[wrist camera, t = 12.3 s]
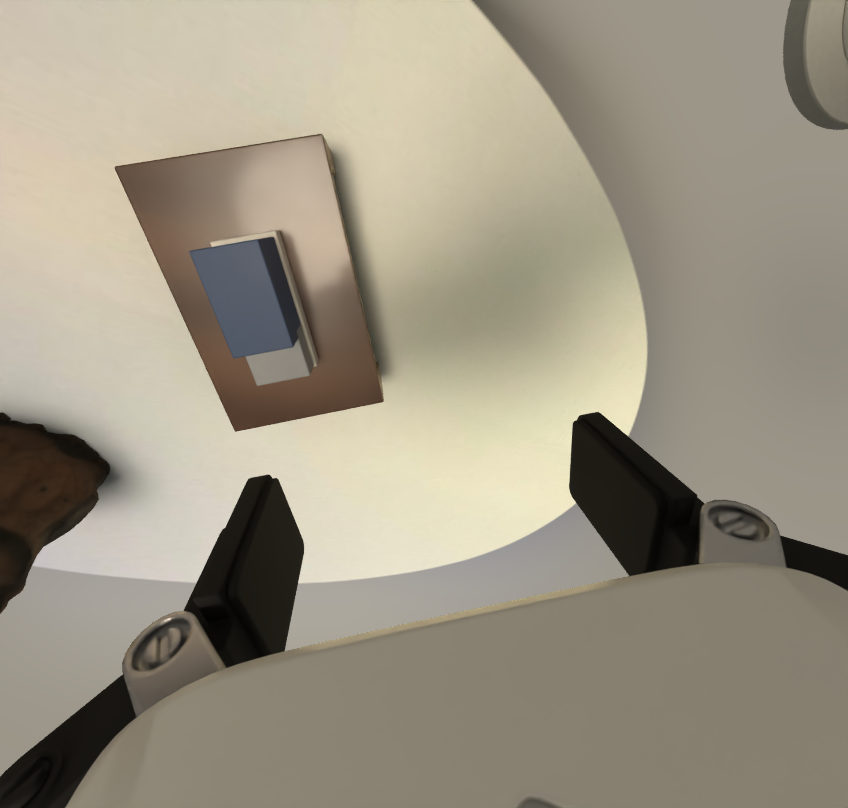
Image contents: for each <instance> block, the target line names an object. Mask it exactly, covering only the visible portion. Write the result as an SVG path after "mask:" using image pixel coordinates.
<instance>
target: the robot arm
mask: <svg viewBox="0 0 848 808" xmlns="http://www.w3.org/2000/svg"><path fill="white" fill-rule="evenodd" d="M843 42H844V48H845V54H846V57H847V59H848V0H847V1H846V5H845V12H844V19H843ZM569 488H570V493H571V495H572V497H573V499H574V500H575V502H576V503H577V504H578V506H579V507H580V509H581V510H582V511H583V513H584V514H585V515H586V517H587V518H588V520H589V521H590V522H591V524H592V525H593V526H594V528H595V529H596V530H597V532H598V533H599V535H600V536H601V537H602V538H603V540H604V542H605V543H606V544H607V546H608V547H609V548H610V550H611V551H612V553H613V554H614V555H615V557H616V558H617V559H618V561H619V562H620V564H621V565H622V566H623V568H624V569H625V570H626V572H627V573H628V575H629V576H628V577H623V578H618V579H613V580H608V581H603V582H599V583H594V584H589V585H584V586H579V587H575V588H570V589H565V590H560V591H556V592H551V593H546V594H541V595H537V596H532V597H527V598H523V599H518V600H513V601H509V602H504V603H500V604H495V605H490V606H485V607H480V608H476V609H471V610H467V611H462V612H457V613H453V614H448V615H443V616H439V617H434V618H430V619H425V620H421V621H416V622H411V623H407V624H402V625H398V626H393V627H389V628H385V629H381V630H376V631H371V632H366V633H362V634H357V635H353V636H348V637H344V638H339V639H335V640H330V641H326V642H322V643H318V644H313V645H309V646H305V647H301V648H297V649H293V650H288V651H285V646H286V640H287V636H288V631H289V626H290V621H291V615H292V610H293V605H294V600H295V595H296V590H297V585H298V580H299V575H300V570H301V565H302V560H303V555H304V543H303V539H302V537H301V534H300V532H299V529H298V527H297V524H296V522H295V519H294V517H293V514H292V512H291V509H290V507H289V505H288V502H287V500H286V497H285V495H284V492H283V490H282V487H281V485H280V482H279V480H278V479H277V478H273V479H272V477H271V476H270V475H264V476H259V477H253V478H250V479H248V481H247V483H246V485H245V487H244V489H243V491H242V493H241V495H240V498H239V500H238V502H237V504H236V506H235V508H234V510H233V513H232V515H231V517H230V519H229V521H228V523H227V525H226V528H224V529H223V530H222V532H221V533H220V535H219V537H218V539H217V541H216V543H215V546H214V548H213V550H212V552H211V554H210V556H209V558H208V560H207V562H206V565H205V567H204V569H203V571H202V573H201V575H200V577H199V579H198V581H197V584H196V586H195V588H194V590H193V592H192V594H191V596H190V598H189V600H188V603H187V605H186V607H185V609H184V611H179V612H173V613H171V614H168V615H166V616H163V617H162V618H160V619H158V620H157V621H155V622H153V623H152V624H151V625H149V626H148V627H147V628H146V629H144V630H143V631H142V632H141V633H140V634H139V636H138V637H137V638H136V639H135V640H134V641H133V642H132V644H131V645H130V647H129V649H128V650H127V652H126V654H125V657H124V659H123V662H122V671H123V675H122V676H120V677H119V678H118V679H117V680H115V681H114V682H113V683H112V684H110V685H109V686H108V687H107V688H106V689H104V690H103V691H102V692H101V693H99V694H98V695H97V696H96V697H94V698H93V699H92V700H91V701H90V702H88V703H87V704H86V705H85V706H83V707H82V708H81V709H80V710H78V711H77V712H76V713H75V714H74V715H72V716H71V717H70V718H69V719H67V720H66V721H65V722H64V723H62V724H61V725H60V726H59V727H57V728H56V729H55V730H54V731H53V732H51V733H50V734H49V735H48V736H46V737H45V738H44V739H43V740H42V741H40V742H39V743H38V744H37V745H35V746H34V747H33V748H32V749H30V750H29V751H28V752H27V753H25V754H24V755H23V756H22V757H21V758H20V759H18V760H17V761H16V762H15V763H14V764H13V765H12V766H11V767H10V768H8V770H6V771H5V772H4V773H3V774H2V776H1V777H0V808H848V555H845V554H841V553H838V552H834V551H831V550H827V549H824V548H820V547H818V546H814V545H811V544H807V543H804V542H800V541H797V540H793V539H790V538H787V537H783V536H780V534H779V530H778V528H777V526H776V524H775V523H774V522H773V521H772V520H771V519H770V518H769V517H768V516H767V515H765V514H764V513H762V512H761V511H759V510H757V509H755V508H753V507H751V506H749V505H746V504H742V503H739V502H736V501H729V500H713V501H710V502H707V503H706V504H704V503H703V502H702V501H701V500H700V499H699V498H697V494H695V493H694V492H693V491H692V490H691V489H689V488H688V487H687V486H686V485H685V484H684V483H682V482H681V481H680V480H678V478H676V477H675V476H674V475H673V474H672V473H670V472H669V471H668V470H667V469H666V468H665V467H663V466H662V465H661V464H660V463H659V462H658V461H656V460H655V459H654V458H653V457H652V456H650V455H649V454H648V453H647V452H646V451H644V450H643V449H642V448H641V447H640V446H639V445H637V444H636V443H635V442H634V441H633V440H631V439H630V438H629V437H628V436H627V435H626V434H624V433H623V432H622V431H621V430H620V429H618V428H617V427H616V426H615V425H614V424H613V423H611V422H610V421H609V420H608V419H607V418H605V417H604V416H603V415H602V414H601V413H599V412H595V413H590V414H584V415H580V416H579V417H578V419H577V421H574V423H573V430H572V448H571V465H570V483H569Z"/></svg>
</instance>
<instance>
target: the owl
mask: <svg viewBox="0 0 848 808" xmlns="http://www.w3.org/2000/svg"><path fill="white" fill-rule="evenodd" d="M10 419H11V418H9V417H8V416H7V415H5V414H4V413H0V613H1V612H2V611H3V610H4V609H5V607H6V606H7V603H8V601H9V600H10V599H12V598H13V597H14V596H16V595H17V594H19V593H20V592H21V591H22V590H23V588H24V586H25V583H26V578H27V576H28V572H29V571H30V569H31V567H32V564H33V562H34V560H35V558H36V556H37V555H38V553H39V552H40V551H41V549H42V548H43V547H44V546H46V545H47V544H49V543H51V542H52V541H54V540H56V539H57V538H59V537H60V536H62V535H64V534H65V533H67V532H69V531H70V530H71V529H72V528H74V527H75V526H76V525H77V524H78V523H79V522H81V521H82V519H83V518H85V517H86V515H87V514H88V513H89V512H90V511H91V510H92V509H93V508H94V506H95V505H96V503H97V501H98V500H99V497H98V493H97V489H98V486H100V485H101V484H102V483H103V482H104V480H105V479H106V477H107V476H108V475H109V472H110V467H109V464H108V463H107V462H106V461H105V460H103V459H102V458H101V457H100V456H99V454H98V453H97V452H95V451H94V450H93V449H92V448H90V447H89V446H88V445H87V444H86V443H85V441H84V440H81V439H79V438H78V437H76V436H74V435H67V434H54V433H49V432H47V431H46V429H45V428H44V426H43V425H40V424H24V423H20V422H17V421H10Z"/></svg>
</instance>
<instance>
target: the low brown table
mask: <svg viewBox="0 0 848 808" xmlns="http://www.w3.org/2000/svg"><path fill="white" fill-rule="evenodd" d="M115 170H116V172H117V174H118V176H119V179H120V181H121V183H122V185H123V187H124V190H125V192H126V194H127V196H128V198H129V200H130V203H131V205H132V207H133V209H134V211H135V214H136V216H137V218H138V220H139V222H140V225H141V227H142V229H143V231H144V233H145V235H146V238H147V240H148V242H149V244H150V246H151V249H152V251H153V253H154V255H155V257H156V260H157V262H158V264H159V266H160V268H161V271H162V273H163V275H164V277H165V279H166V281H167V284H168V286H169V288H170V290H171V292H172V295H173V297H174V299H175V301H176V303H177V306H178V308H179V310H180V312H181V314H182V317H183V319H184V321H185V323H186V325H187V327H188V330H189V332H190V334H191V336H192V338H193V341H194V343H195V345H196V347H197V349H198V352H199V354H200V356H201V358H202V360H203V362H204V365H205V367H206V369H207V371H208V373H209V376H210V378H211V380H212V382H213V384H214V387H215V389H216V391H217V393H218V395H219V398H220V400H221V402H222V404H223V406H224V408H225V411H226V413H227V415H228V417H229V419H230V422H231V424H232V426H233V428H234V430H235V432H236V431H241V430H246V429H251V428H256V427H261V426H266V425H271V424H276V423H281V422H286V421H291V420H296V419H301V418H306V417H311V416H316V415H321V414H326V413H331V412H336V411H341V410H346V409H350V408H355V407H360V406H365V405H370V404H375V403H380V402H383V401H384V399H383V389H382V379H381V373H380V369H379V364H378V361H375V358H374V353H373V349H372V344H371V340H370V336H369V331H368V327H367V323H366V318H365V314H364V309H363V305H362V301H361V296H360V292H359V287H358V283H357V279H356V274H355V270H354V265H353V261H352V257H351V252H350V248H349V243H348V239H347V235H346V230H345V226H344V221H343V217H342V213H341V208H340V204H339V199H338V195H337V191H336V186H335V182H334V177H333V176H335V175H336V172H335V168H334V163H333V159H332V154H331V150H330V148H329V146H328V144H327V142H326V140H325V138H324V136H323V135H322V134H318V135H311V136H305V137H299V138H292V139H286V140H280V141H273V142H267V143H261V144H254V145H248V146H242V147H236V148H229V149H223V150H217V151H210V152H204V153H198V154H191V155H185V156H179V157H172V158H166V159H160V160H153V161H147V162H141V163H134V164H128V165H122V166H116V167H115ZM276 230H279V231H280V234H281V237H282V241H283V244H284V247H285V251H286V254H287V257H288V261H289V264H290V267H291V270H292V274H293V277H294V280H295V284H296V287H297V290H298V294H299V297H300V300H301V303H302V307H303V310H304V313H305V317H306V320H307V323H308V326H309V330H310V333H311V336H312V340H313V343H314V346H315V350H316V353H317V356H318V359H319V361H318V364H317V366H315V367H313V369H312V372H311V374H310V376H306V377H301V378H296V379H291V380H286V381H280V382H275V383H270V384H265V385H260V386H257V385H256V382H255V380H254V377H253V374H252V372H251V369H250V367H249V364H248V362H247V359H246V357H240V358H233V357H232V354H231V352H230V349H229V347H228V344H227V342H226V340H225V337H224V335H223V332H222V330H221V328H220V325H219V323H218V320H217V318H216V316H215V313H214V311H213V308H212V306H211V304H210V301H209V299H208V296H207V294H206V292H205V289H204V287H203V284H202V282H201V280H200V277H199V275H198V272H197V270H196V267H195V265H194V263H193V260H192V258H191V255H190V253H189V251H191V250H197V249H203V248H209V247H212V246H211V244H210V242H211V241H217V240H223V239H229V238H234V237H240V236H246V235H252V234H258V233H263V232H269V231H276Z"/></svg>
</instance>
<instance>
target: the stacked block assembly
mask: <svg viewBox="0 0 848 808" xmlns="http://www.w3.org/2000/svg"><path fill="white" fill-rule="evenodd" d="M210 244H211V246H212V247H209V248H203V249H197V250H191V251H189V253H190V255H191V258H192V260H193V263H194V265H195V267H196V270H197V272H198V275H199V277H200V280H201V282H202V284H203V287H204V289H205V292H206V294H207V296H208V299H209V301H210V304H211V306H212V308H213V311H214V313H215V316H216V318H217V320H218V323H219V325H220V328H221V330H222V332H223V335H224V337H225V340H226V342H227V344H228V347H229V349H230V352H231V354H232V357H233V358H240V357H246V359H247V362H248V364H249V367H250V369H251V372H252V374H253V377H254V380H255V382H256V385H257V386H260V385H265V384H270V383H275V382H280V381H286V380H291V379H296V378H301V377H306V376H310V374H311V372H312V369H313V367H315V366H317V364H318V361H319V359H318V356H317V353H316V350H315V346H314V343H313V340H312V336H311V333H310V330H309V326H308V323H307V320H306V317H305V313H304V310H303V307H302V303H301V300H300V297H299V294H298V290H297V287H296V284H295V280H294V277H293V274H292V270H291V267H290V264H289V261H288V257H287V254H286V251H285V247H284V244H283V241H282V237H281V234H280V231H279V230H276V231H269V232H263V233H258V234H252V235H246V236H240V237H234V238H229V239H223V240H217V241H211V242H210Z"/></svg>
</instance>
